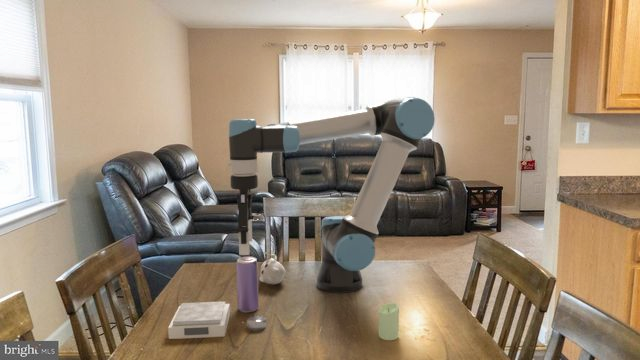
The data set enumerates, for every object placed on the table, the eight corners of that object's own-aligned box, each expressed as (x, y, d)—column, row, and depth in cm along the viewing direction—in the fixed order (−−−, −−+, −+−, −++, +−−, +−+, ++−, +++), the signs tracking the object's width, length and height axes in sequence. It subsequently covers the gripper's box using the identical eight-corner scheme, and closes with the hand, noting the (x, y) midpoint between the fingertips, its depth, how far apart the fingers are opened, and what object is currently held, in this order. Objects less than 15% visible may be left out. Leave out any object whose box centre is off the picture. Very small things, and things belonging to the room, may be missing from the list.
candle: (385, 342, 120) (385, 310, 119) (375, 333, 124) (375, 303, 123) (402, 338, 122) (402, 307, 121) (391, 330, 126) (392, 300, 125)
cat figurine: (267, 248, 169) (271, 256, 154) (287, 259, 170) (293, 267, 156) (254, 272, 168) (256, 282, 154) (274, 283, 170) (278, 293, 155)
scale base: (230, 313, 137) (229, 303, 137) (224, 336, 123) (224, 325, 123) (179, 315, 136) (179, 305, 136) (168, 339, 122) (167, 328, 122)
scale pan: (225, 304, 136) (225, 301, 135) (220, 323, 124) (220, 319, 124) (182, 306, 135) (182, 303, 134) (173, 325, 123) (172, 321, 123)
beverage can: (254, 313, 137) (253, 263, 135) (234, 312, 138) (233, 261, 136) (261, 305, 143) (260, 256, 141) (242, 304, 144) (240, 255, 142)
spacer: (266, 322, 132) (266, 315, 131) (265, 331, 127) (265, 323, 126) (248, 323, 131) (247, 316, 131) (246, 331, 126) (246, 324, 126)
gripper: (234, 169, 147) (236, 236, 150) (225, 180, 122) (228, 261, 125) (259, 168, 148) (260, 236, 151) (255, 180, 123) (257, 260, 126)
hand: (246, 247), depth 138 cm, fingers open, 13 cm apart
